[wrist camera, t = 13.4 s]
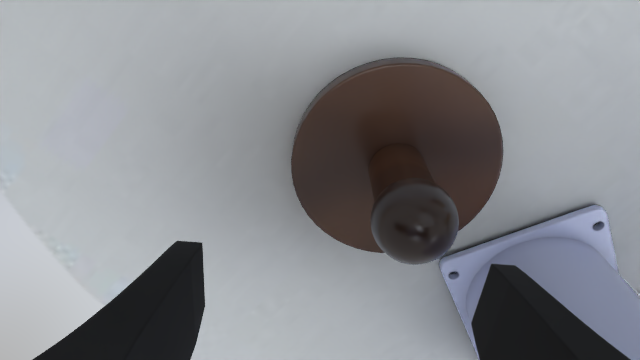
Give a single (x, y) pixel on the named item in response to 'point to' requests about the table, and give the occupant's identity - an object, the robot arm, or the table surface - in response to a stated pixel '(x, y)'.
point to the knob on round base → (397, 158)
